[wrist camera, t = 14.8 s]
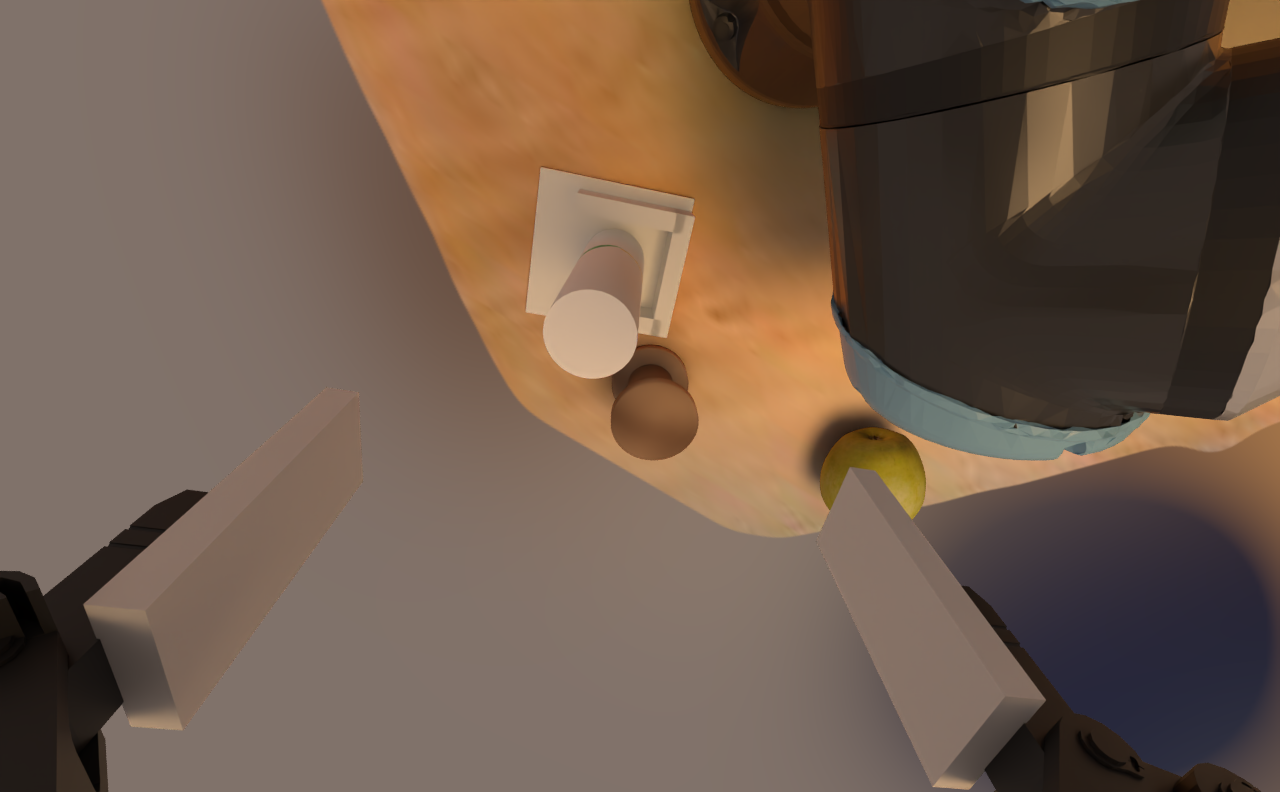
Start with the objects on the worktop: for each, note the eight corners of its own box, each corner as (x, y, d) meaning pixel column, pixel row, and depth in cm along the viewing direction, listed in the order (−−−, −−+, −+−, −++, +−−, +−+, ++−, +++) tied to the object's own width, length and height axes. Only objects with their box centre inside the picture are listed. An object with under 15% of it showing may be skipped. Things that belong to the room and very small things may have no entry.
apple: (803, 499, 48) (835, 563, 41) (811, 413, 44) (848, 468, 37) (887, 493, 48) (934, 556, 41) (904, 406, 44) (958, 459, 37)
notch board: (541, 166, 35) (535, 170, 32) (693, 198, 36) (699, 204, 33) (526, 309, 39) (520, 323, 37) (662, 333, 40) (665, 348, 38)
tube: (654, 246, 37) (654, 315, 23) (628, 299, 38) (613, 392, 25) (598, 217, 36) (564, 272, 22) (574, 273, 38) (529, 355, 24)
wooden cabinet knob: (619, 338, 40) (619, 377, 34) (694, 351, 41) (708, 392, 35) (606, 406, 43) (604, 453, 37) (677, 417, 44) (687, 465, 38)
